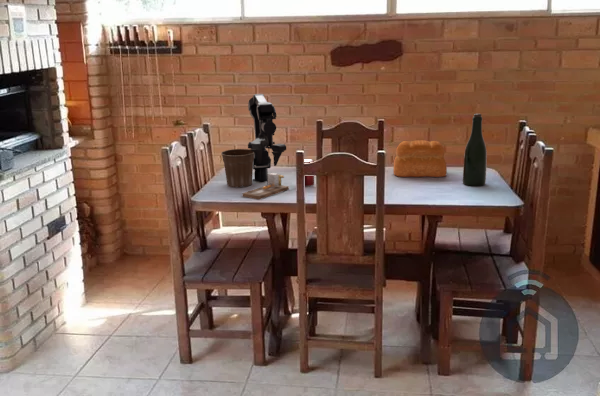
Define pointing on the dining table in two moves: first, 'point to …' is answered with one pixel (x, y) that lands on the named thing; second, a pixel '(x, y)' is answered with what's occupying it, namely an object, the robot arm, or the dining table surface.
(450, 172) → the dining table surface
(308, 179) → the soda can
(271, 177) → the grey metal piece
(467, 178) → the green wine bottle
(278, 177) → the keeper hook
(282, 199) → the dining table surface
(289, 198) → the dining table surface
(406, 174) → the bread
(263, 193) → the board
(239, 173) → the plant pot
